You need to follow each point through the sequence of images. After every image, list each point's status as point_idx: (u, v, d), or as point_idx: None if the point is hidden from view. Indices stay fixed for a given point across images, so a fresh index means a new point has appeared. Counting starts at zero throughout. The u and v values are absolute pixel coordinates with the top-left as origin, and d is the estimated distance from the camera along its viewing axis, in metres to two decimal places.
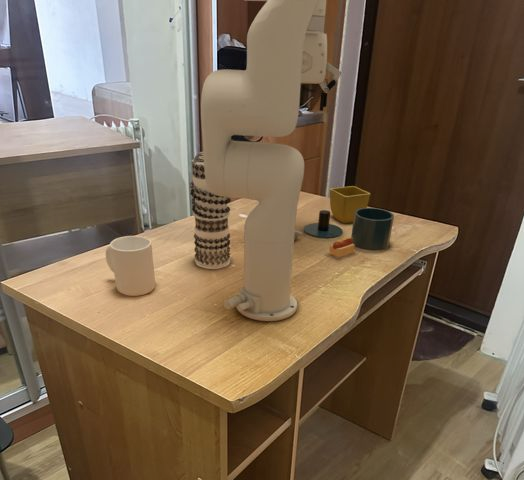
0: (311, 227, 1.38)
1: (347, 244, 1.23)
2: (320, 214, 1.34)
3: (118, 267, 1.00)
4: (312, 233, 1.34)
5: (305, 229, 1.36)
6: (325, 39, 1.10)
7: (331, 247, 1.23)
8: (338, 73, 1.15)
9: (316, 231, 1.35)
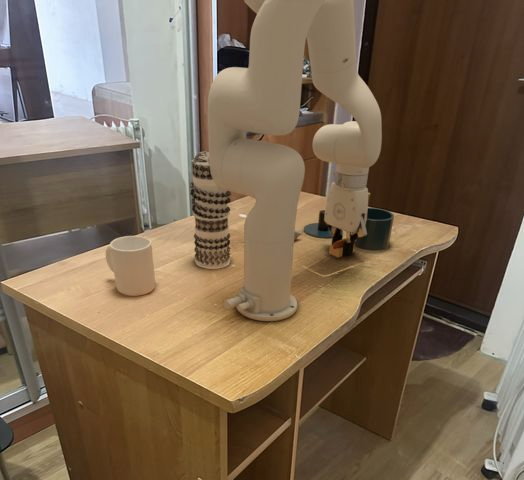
0: (311, 227, 1.38)
1: None
2: (320, 214, 1.34)
3: (118, 267, 1.00)
4: (312, 233, 1.34)
5: (305, 229, 1.36)
6: (358, 196, 1.12)
7: (331, 247, 1.23)
8: (362, 233, 1.17)
9: (316, 231, 1.35)
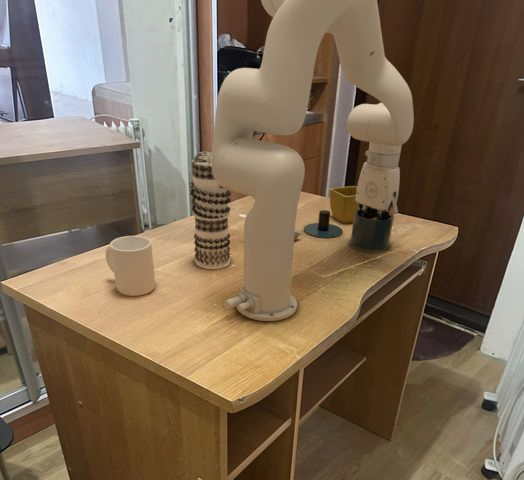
0: (311, 227, 1.38)
1: None
2: (320, 214, 1.34)
3: (118, 267, 1.00)
4: (312, 233, 1.34)
5: (305, 229, 1.36)
6: (391, 174, 1.17)
7: None
8: (393, 212, 1.21)
9: (316, 231, 1.35)
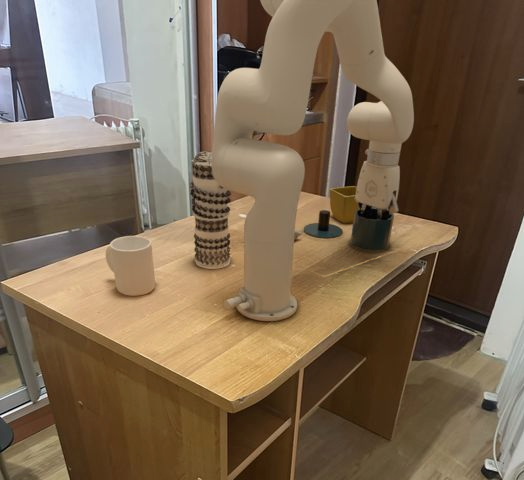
0: (311, 227, 1.38)
1: None
2: (320, 214, 1.34)
3: (118, 267, 1.00)
4: (312, 233, 1.34)
5: (305, 229, 1.36)
6: (391, 173, 1.16)
7: None
8: (393, 210, 1.21)
9: (316, 231, 1.35)
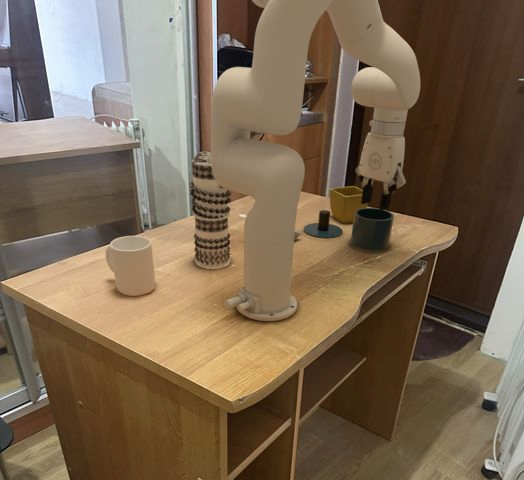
0: (311, 227, 1.38)
1: None
2: (320, 214, 1.34)
3: (118, 267, 1.00)
4: (312, 233, 1.34)
5: (305, 229, 1.36)
6: (396, 143, 1.13)
7: None
8: (401, 182, 1.16)
9: (316, 231, 1.35)
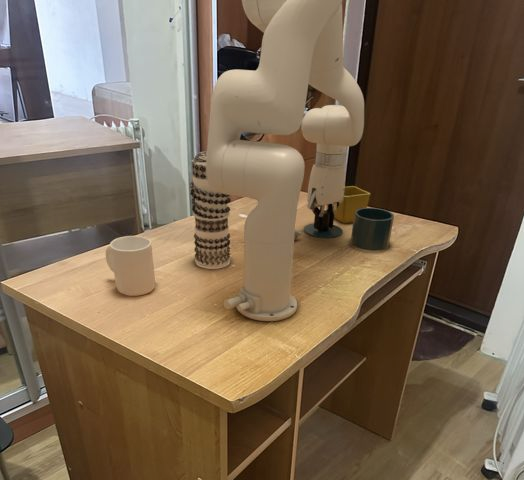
0: (311, 227, 1.38)
1: None
2: None
3: (118, 267, 1.00)
4: (312, 233, 1.34)
5: (305, 229, 1.36)
6: (312, 169, 1.26)
7: None
8: None
9: (316, 231, 1.35)
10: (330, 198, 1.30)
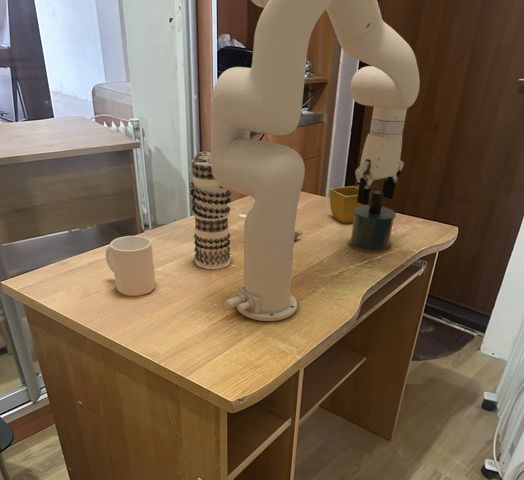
0: (361, 210, 1.27)
1: None
2: (373, 195, 1.23)
3: (118, 267, 1.00)
4: (364, 215, 1.23)
5: (355, 211, 1.26)
6: (367, 139, 1.15)
7: None
8: None
9: (367, 214, 1.25)
10: (385, 171, 1.18)
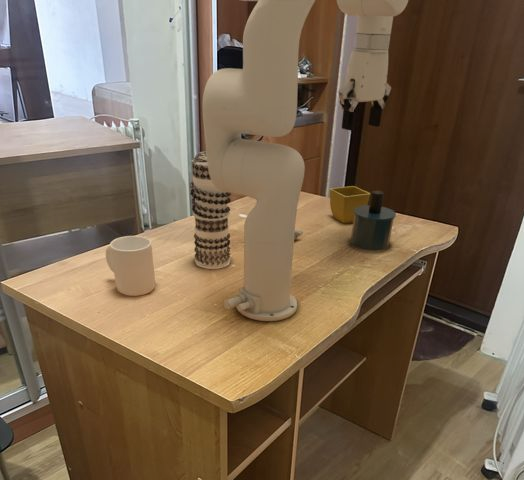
0: (361, 210, 1.27)
1: None
2: (373, 195, 1.23)
3: (118, 267, 1.00)
4: (364, 215, 1.23)
5: (355, 211, 1.26)
6: (351, 56, 1.09)
7: None
8: None
9: (367, 214, 1.25)
10: (370, 93, 1.12)
